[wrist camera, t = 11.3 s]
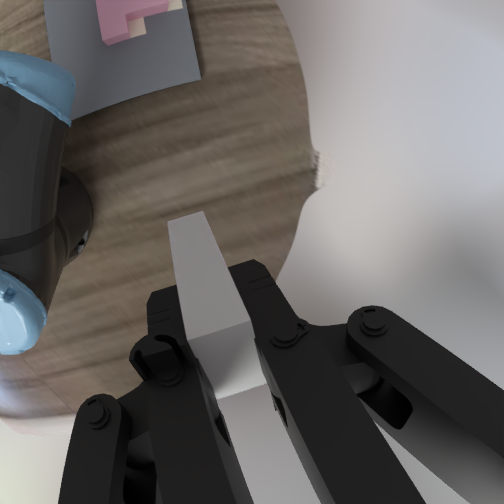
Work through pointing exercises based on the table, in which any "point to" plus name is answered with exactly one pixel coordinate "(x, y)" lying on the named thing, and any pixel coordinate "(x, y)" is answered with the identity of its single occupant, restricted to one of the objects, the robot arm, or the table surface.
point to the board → (120, 53)
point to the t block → (124, 16)
